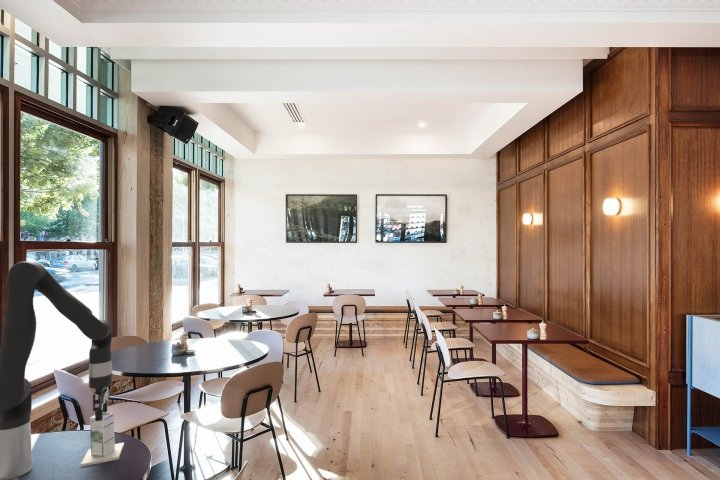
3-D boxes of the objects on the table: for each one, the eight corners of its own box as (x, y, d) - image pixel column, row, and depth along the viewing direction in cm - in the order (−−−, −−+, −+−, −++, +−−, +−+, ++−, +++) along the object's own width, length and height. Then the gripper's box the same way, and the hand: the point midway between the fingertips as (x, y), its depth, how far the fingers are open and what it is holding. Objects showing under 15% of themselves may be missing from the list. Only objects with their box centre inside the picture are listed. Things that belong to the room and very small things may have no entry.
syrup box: (115, 449, 157) (114, 411, 158) (103, 457, 151) (102, 417, 152) (103, 448, 158) (101, 411, 159) (90, 456, 153) (89, 417, 153)
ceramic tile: (80, 467, 147) (80, 464, 147) (88, 451, 159) (88, 449, 159) (118, 459, 152) (118, 456, 152) (124, 444, 163) (124, 442, 163)
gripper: (108, 377, 150) (109, 421, 150) (115, 367, 163) (116, 407, 163) (84, 380, 147) (85, 425, 147) (93, 369, 161) (94, 411, 160)
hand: (101, 416), depth 155 cm, fingers open, 8 cm apart
